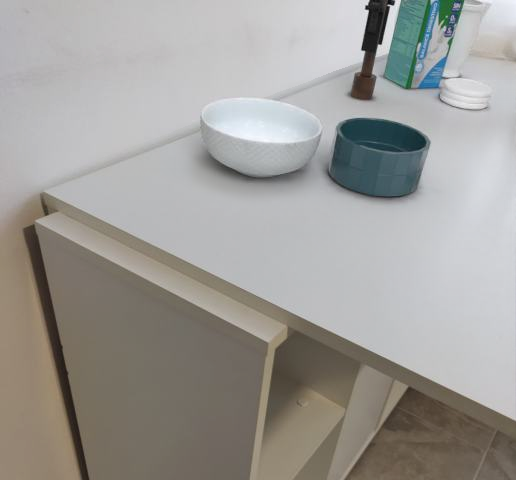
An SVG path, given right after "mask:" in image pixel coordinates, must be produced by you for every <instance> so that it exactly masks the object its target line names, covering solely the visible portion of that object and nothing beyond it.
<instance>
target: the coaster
mask: <svg viewBox="0 0 516 480" xmlns="http://www.w3.org/2000/svg"><path fill="white" fill-rule="evenodd" d="M492 94H493V89H492V87H491V86H490V85H488V84H487V83H484V82H481V81H478V80H475V79H470V78H463V77H455V78H447V79H445V80H444V81H443V83H442V88H441V92H440V94H439V98H440V100H441V101H442V102H443V103H445V104H447V105H449V106H451V107H452V106H453V107H456V108H460V109H465V110H483V109H485V108H487V107H488V105H489V101H490V100H491V96H492Z"/></svg>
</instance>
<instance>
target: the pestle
mask: <svg viewBox="0 0 516 480" xmlns="http://www.w3.org/2000/svg"><path fill="white" fill-rule="evenodd" d="M387 1H388V0H386V2H385V6H384V7H385V8H384V10H383V12H384V15H385V11H386V6H387ZM383 20H384V16H383ZM383 20H382V24H383ZM381 29H382V25H381ZM380 34H381V30H380ZM380 34H379V38H380ZM378 43H379V39H378ZM378 48H379V45H378V44H377V48H376V52H375V53H372V52H367V51H364V54H363V61H362V64H361V69H360V71H357V72H354V76H353V81H352V84H351V85H352V86H351V90H350V91H351V92H350V96H351V97H352V98H354V99H358V100H362V101H370V100H372V99H373V95H374V91H375V86H376V83H377V78H378V77H377V75H376V74H373V71H374V66H375V61H376V56H377V51H378Z"/></svg>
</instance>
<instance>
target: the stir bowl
mask: <svg viewBox="0 0 516 480" xmlns="http://www.w3.org/2000/svg"><path fill="white" fill-rule="evenodd" d="M333 134H334V135H333V139H332V144H331V145H332V146H331V152H330V156H329V162H328V174H329V176H331V178H332V179H333V180H334V181H335V182H337V183H338V184H339V185H341V186H343V187H344V188H348V189H349V190H352V191H355V192H357V193H359V194H364V195H368V196H374V197H401V196H405V195H408V194H411V193H412V192H414V191H415V190H416V189H418V186H419V184H420V181H421V180H420V179H421V176H422V173H423V170H424V167H425V164H426V160H427V157H428V154H429V150H430V146H431V144H432V141H431V140H430V138H429V136H427V135H426V134H425V133H423V132H422V131H420V130H419V129H417V128H414V127H412V126H410V125H408V124H404V123H401V122H398V121H395V120H390V119H389V120H388V119H383V118H377V117H376V118H375V117H354V118H348V119H343V121H340V122H338V124H337V125H336V126H335V129H334V133H333Z"/></svg>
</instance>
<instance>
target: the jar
mask: <svg viewBox="0 0 516 480" xmlns="http://www.w3.org/2000/svg"><path fill="white" fill-rule="evenodd" d="M486 8H487V4H486V3H484V2H482V1H479V0H465V1H464V4H463V8H462V11H461V14H460V18H459V21H458V24H457V28H456V31H455V34H454V38H453V41H452V44H451V48H450V51H449V54H448V58H447V61H446V65H445V68H444V71H443V75H442V78H444V79H445V78H447V79H449V78H459V77H460V75H461V72H460V68H461V67H462V66H463V65H464V64H465V62H466V60H467V59H468V57H469V55H470V52H471V50H472V49H473V46H474V44H475V41H476V39H477V36H478V34H479V30H480V26H481V22H482V21H481V20H482V13H483V12H484V11H485V10H486Z"/></svg>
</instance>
